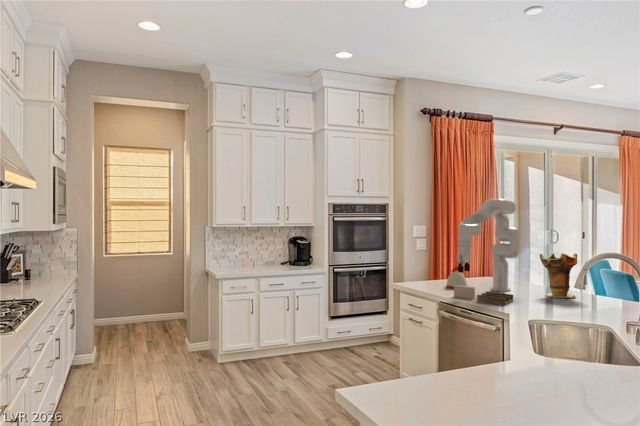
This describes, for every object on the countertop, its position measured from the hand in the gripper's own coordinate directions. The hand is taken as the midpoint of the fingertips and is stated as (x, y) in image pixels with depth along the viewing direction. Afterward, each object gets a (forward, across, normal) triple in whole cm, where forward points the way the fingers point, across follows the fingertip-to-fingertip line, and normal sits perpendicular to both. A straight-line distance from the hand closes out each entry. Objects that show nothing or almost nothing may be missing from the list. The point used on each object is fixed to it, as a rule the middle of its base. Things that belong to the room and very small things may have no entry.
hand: (463, 271), depth 279 cm
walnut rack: (+16, 0, +19) cm, 25 cm away
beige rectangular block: (+16, -1, 0) cm, 16 cm away
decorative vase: (+15, -44, +44) cm, 64 cm away
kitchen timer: (+16, -33, -18) cm, 41 cm away
